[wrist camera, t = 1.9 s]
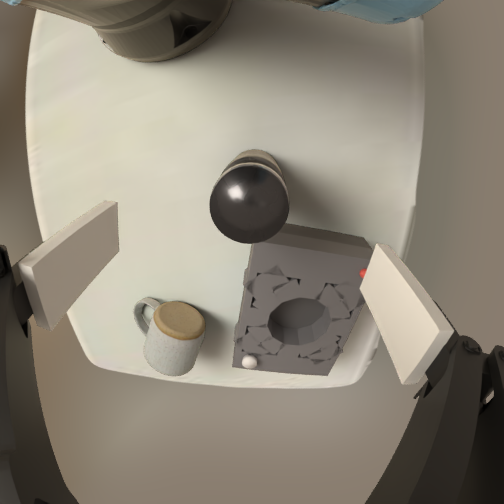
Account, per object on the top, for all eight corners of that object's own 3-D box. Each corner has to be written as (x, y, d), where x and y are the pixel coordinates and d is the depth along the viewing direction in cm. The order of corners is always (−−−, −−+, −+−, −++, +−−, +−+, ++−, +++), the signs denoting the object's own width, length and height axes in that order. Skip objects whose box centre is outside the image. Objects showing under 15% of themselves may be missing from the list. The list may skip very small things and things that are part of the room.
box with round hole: (252, 217, 31) (250, 243, 25) (365, 238, 32) (386, 266, 25) (233, 335, 39) (228, 371, 33) (323, 345, 40) (330, 380, 34)
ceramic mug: (212, 308, 37) (202, 348, 30) (199, 346, 41) (188, 384, 34) (140, 281, 36) (117, 316, 29) (135, 322, 39) (116, 357, 33)
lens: (232, 144, 27) (212, 160, 17) (284, 152, 28) (299, 174, 17) (225, 193, 30) (203, 238, 19) (275, 201, 30) (282, 251, 19)
